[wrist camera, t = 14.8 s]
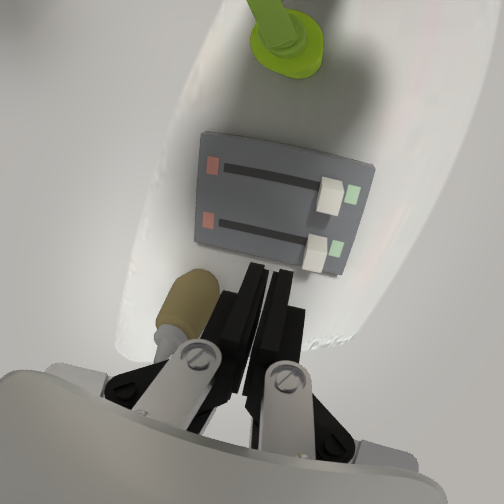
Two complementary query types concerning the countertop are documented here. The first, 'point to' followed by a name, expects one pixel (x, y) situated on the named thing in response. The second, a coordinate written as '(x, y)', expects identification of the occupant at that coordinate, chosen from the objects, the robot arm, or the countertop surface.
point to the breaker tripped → (315, 253)
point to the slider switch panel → (275, 199)
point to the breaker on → (330, 196)
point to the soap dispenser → (285, 39)
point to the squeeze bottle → (185, 311)
